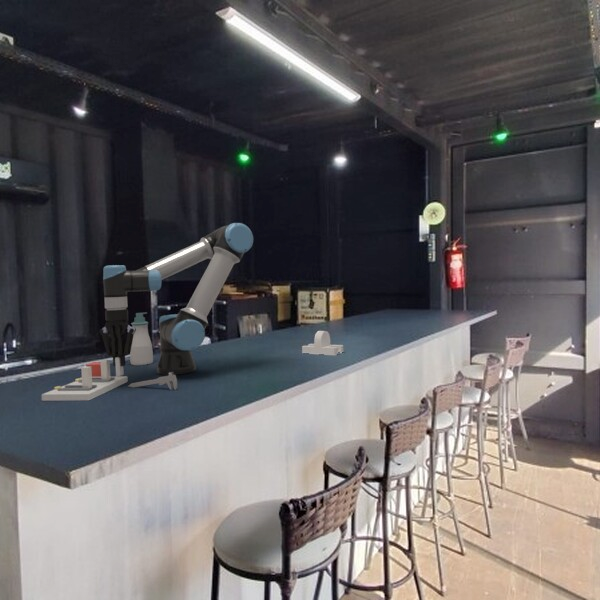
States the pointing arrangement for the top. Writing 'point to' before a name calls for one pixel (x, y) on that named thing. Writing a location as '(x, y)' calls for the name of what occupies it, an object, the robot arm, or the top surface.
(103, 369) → the block
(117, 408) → the top surface
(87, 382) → the post
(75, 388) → the panel
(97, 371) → the brick-red cube
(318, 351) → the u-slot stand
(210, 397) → the top surface
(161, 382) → the caliper
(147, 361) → the soap bottle
